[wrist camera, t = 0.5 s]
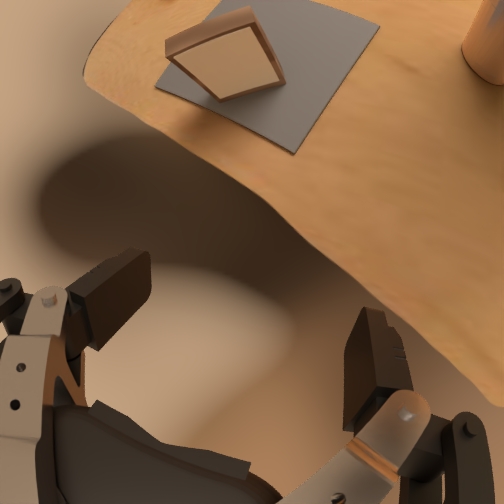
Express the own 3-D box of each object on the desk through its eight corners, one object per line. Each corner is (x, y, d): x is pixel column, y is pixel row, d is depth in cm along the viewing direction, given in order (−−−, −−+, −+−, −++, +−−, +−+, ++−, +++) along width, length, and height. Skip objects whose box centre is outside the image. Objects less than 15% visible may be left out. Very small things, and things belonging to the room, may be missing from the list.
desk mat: (236, -12, 34) (235, -14, 33) (379, 27, 28) (379, 25, 27) (155, 87, 40) (154, 86, 40) (294, 153, 34) (294, 152, 33)
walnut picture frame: (217, 87, 36) (165, 39, 23) (281, 67, 33) (249, 5, 19) (220, 104, 36) (165, 58, 23) (286, 84, 33) (255, 22, 20)
